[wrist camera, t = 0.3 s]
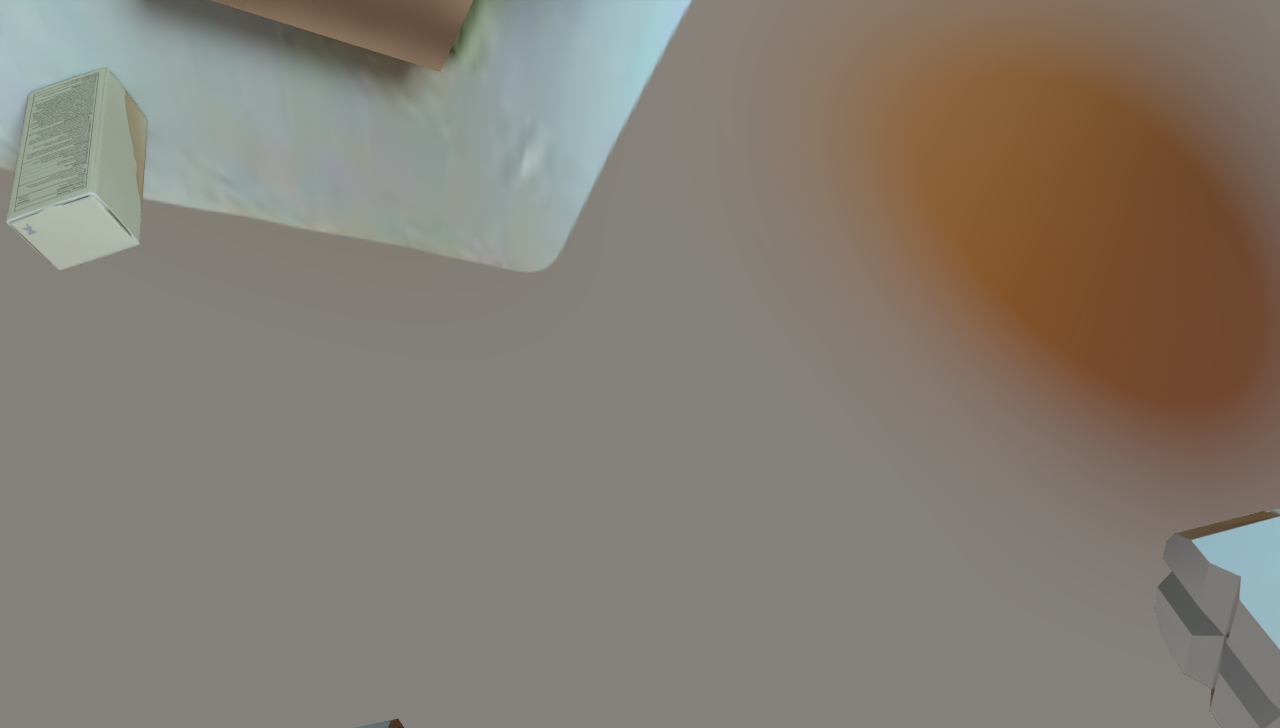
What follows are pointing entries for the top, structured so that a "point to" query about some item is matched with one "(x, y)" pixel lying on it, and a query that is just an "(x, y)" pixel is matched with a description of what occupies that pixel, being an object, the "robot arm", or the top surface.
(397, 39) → the square hole block
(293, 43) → the top surface
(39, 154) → the box
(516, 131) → the top surface
